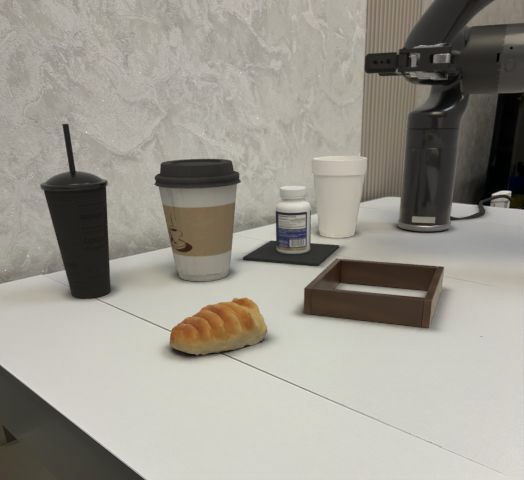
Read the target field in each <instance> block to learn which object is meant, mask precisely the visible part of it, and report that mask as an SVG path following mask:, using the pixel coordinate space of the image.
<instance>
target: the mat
mask: <svg viewBox="0 0 524 480" xmlns="http://www.w3.org/2000/svg"><path fill="white" fill-rule="evenodd" d="M339 248H340V245H339V244H330V243H329V244H328V243H327V244H326V243H312V242H310V250H309V251H308V252H307V253H304V254H295V255H291V254H282V253H279V252H278V251H277V249H276V240H269V241H267V242H266V243H264V244H262V245H261V246H259V247H257V248H256V249H254V250H252V251H251V252H249V253H247V254H246V255H244V256H243V257H242V260H243V261H253V262H266V263H277V264H278V263H279V264H289V265H290V264H291V265H301V266H302V265H303V266H314V267H319V266H320V265H321V264H322V263H323V262H325V261H326V260H327V259H328V258H329V257H330V256H331V255H332V254H333V253H335V252H336V251H337V250H338V249H339Z"/></svg>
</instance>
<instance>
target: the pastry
mask: <svg viewBox="0 0 524 480" xmlns="http://www.w3.org/2000/svg"><path fill="white" fill-rule="evenodd" d="M267 334H268V326H267V323H266V322H265V318H264V316H263V314H262V313H261V311H260V308H259V306H258V304H257V303H256V302H255V301H253V300H252V299H250V298H248V297H241V298H238V297H233V298H232V300H231V301H221V302H217V303H213V304H207V305H205V306H203V307H201V308H200V310H199V311H198V312H196V313H195V314H193V315H191V316H187V317H186V318H184V319H183V320H182V321H181V322H179V323H178V324H177V325H175V326H173V327H172V329H171V330H170V334H169V346H170V347H171V348H173V349H174V350H177V351H180V352H183V353H187V354H191V355H196V356H199V355H201V356H206V355H208V354H211V353H212V354H213V353H219V354H220V353H223V352H227V351H235V350H239V349H242V348H244V347H245V346H253V345H257V344H259V343H260V342H261V341H263V340H264V337H265V336H266V335H267ZM196 356H195V357H196Z"/></svg>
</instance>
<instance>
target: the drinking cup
mask: <svg viewBox="0 0 524 480" xmlns="http://www.w3.org/2000/svg"><path fill="white" fill-rule="evenodd" d="M61 126H62V131H63V138H64V144H65V145H64V146H65V150H66V156H67V157H66V158H67V163H68V164H67V165H68V171H64V172H60V173H57V174H55V175H53V176H51V177H50V178H48V179H47V180H46V181H44V182H41V183H40V186H39V187H40V189H41V190H42V191H43V193H44V198H45V201H46V204H47V209H48V211H49V216H50V220H51V223H52V226H53V229H54V230H53V231H54V234H55V238H56V242H57V245H58V249H59V252H60V257H61V260H62V264H63V268H64V271H65V274H66V278H67V282H68V286H69V289H70V294H71V296H72V297H73V298H76V299H94V298H100V297H104V296H106V295H108V294H109V293H111V291H112V289H111V267H110V266H111V265H110V264H111V263H110V245H109V243H110V242H109V224H108V222H109V221H108V201H107V200H108V199H107V186H109V181H108V179H105V178H102V177H100V176H98V175H96V174H94V173H91V172H87V171H82V170H76V164H75V158H74V151H73V145H72V138H71V137H72V136H71V132H70V125H69V123H62V124H61Z"/></svg>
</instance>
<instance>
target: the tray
mask: <svg viewBox="0 0 524 480" xmlns="http://www.w3.org/2000/svg"><path fill="white" fill-rule="evenodd" d="M444 273H445V266H440V265H428V264H427V265H426V264H412V263H402V262H401V263H399V262H390V261H389V262H388V261H375V260H362V259H349V258H337V257H336V258H335V259H334V260H332V262H331V263H329V265H327V266H326V267H325V268H324V269H323V270H322V271H321V272H320V273H319V274H317V275H316V277H314V278H313V279H312V280H311V281H310V282H309V283H308V284H307V285H306V286H305V287H304V288H303V314H304V315H305V314H306V315H313V316H323V317H331V318H341V319H349V320H358V321H364V322H365V321H366V322H375V323H383V324H392V325H401V326H409V327H417V328H427V329H429V328H430V326H431V323H432V320H433V317H434V314H435V311H436V308H437V305H438V303H439V299H440V296H441V293H442V291H443V283H444ZM340 283H343V284H353V285H364V286H374V287H375V286H376V287H388V288H397V289H407V290H419V291H427V292H426V295H425V297H422V296H411V295H401V294H392V293H391V294H390V293H383V292H381V293H380V292H372V291H371V292H370V291H359V290H350V289H349V290H348V289H339V288H337V286H338V285H339V284H340Z"/></svg>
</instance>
